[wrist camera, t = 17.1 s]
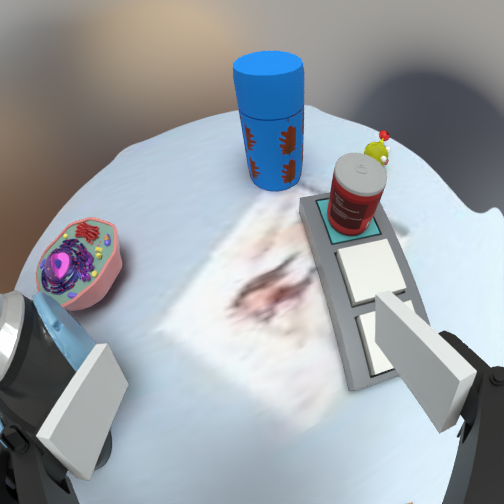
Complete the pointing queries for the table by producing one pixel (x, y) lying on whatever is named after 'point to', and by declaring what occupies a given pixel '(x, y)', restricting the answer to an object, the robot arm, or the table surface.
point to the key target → (338, 237)
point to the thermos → (271, 116)
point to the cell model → (80, 264)
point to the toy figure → (379, 149)
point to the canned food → (355, 193)
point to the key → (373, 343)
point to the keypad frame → (337, 293)
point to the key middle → (369, 271)
